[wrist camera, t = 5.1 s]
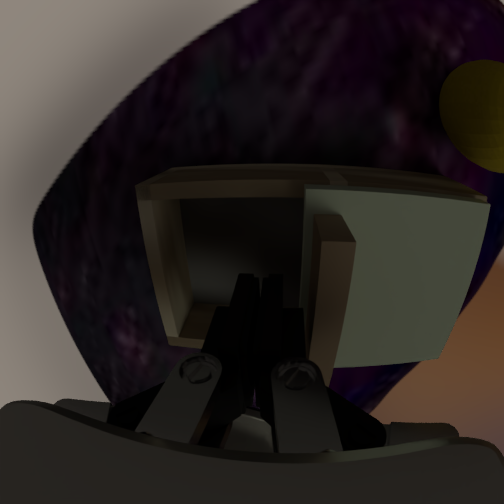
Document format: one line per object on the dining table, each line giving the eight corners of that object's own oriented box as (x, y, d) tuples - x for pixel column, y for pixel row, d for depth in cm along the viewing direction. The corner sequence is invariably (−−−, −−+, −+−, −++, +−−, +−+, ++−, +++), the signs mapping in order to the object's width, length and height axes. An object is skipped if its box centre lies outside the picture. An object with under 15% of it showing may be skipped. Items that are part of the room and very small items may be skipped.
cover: (433, 348, 13) (452, 389, 10) (294, 356, 14) (294, 406, 11) (480, 199, 9) (524, 225, 6) (304, 184, 10) (312, 209, 7)
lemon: (406, 66, 11) (494, 39, 4) (476, 72, 10) (566, 68, 3) (422, 160, 13) (513, 200, 6) (488, 155, 12) (576, 191, 5)
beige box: (417, 302, 17) (440, 345, 13) (190, 300, 19) (169, 344, 15) (444, 175, 13) (487, 196, 9) (172, 167, 15) (135, 185, 11)
